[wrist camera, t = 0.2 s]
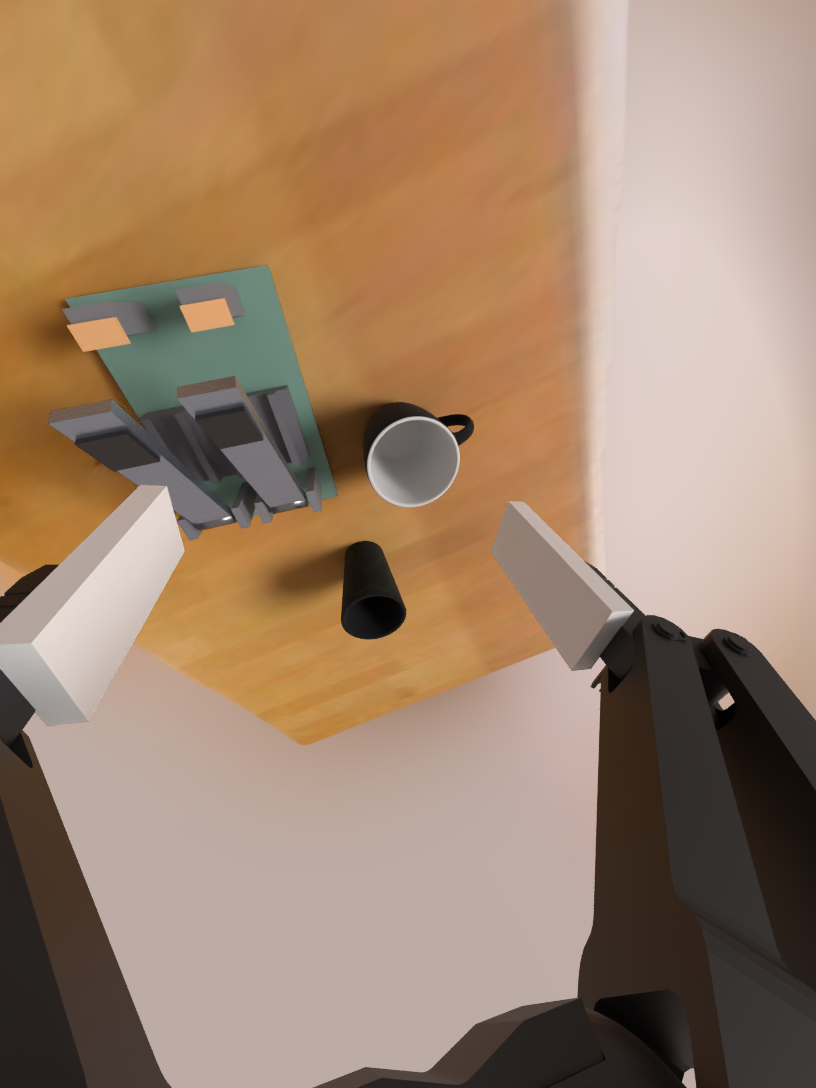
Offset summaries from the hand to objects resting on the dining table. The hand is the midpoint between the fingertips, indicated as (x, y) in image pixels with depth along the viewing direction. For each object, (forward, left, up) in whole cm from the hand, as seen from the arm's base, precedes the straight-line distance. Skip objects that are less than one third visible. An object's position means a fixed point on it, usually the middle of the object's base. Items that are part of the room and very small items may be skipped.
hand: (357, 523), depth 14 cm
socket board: (+1, -11, -27) cm, 29 cm away
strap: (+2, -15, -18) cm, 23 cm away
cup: (+23, -2, -27) cm, 35 cm away
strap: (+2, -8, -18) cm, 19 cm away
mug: (+6, +7, -27) cm, 29 cm away
